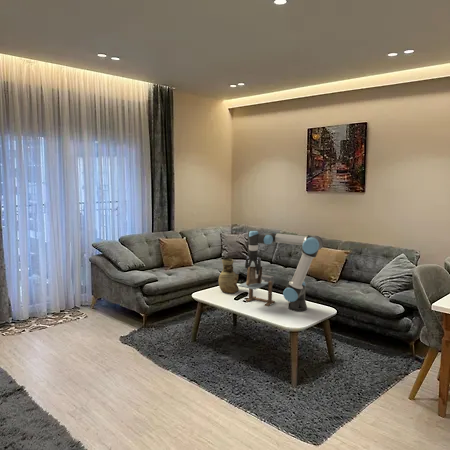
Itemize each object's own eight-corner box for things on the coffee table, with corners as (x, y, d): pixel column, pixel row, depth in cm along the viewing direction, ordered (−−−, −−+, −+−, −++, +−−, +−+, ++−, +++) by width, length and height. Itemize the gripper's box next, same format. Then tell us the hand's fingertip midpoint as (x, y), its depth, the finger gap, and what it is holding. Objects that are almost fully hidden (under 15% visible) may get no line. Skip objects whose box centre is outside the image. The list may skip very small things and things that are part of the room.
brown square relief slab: (248, 286, 324) (248, 267, 323) (244, 285, 327) (245, 266, 326) (262, 283, 335) (263, 265, 334) (259, 282, 338) (259, 264, 337)
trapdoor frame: (274, 302, 344) (275, 280, 341) (267, 306, 334) (268, 283, 331) (252, 297, 356) (253, 276, 354) (245, 301, 346) (246, 279, 344)
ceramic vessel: (244, 292, 374) (245, 260, 370) (225, 295, 363) (225, 262, 359) (233, 287, 390) (233, 256, 386) (214, 290, 379) (214, 259, 375)
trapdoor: (274, 284, 347) (274, 276, 346) (255, 293, 320) (255, 284, 319) (258, 281, 356) (258, 273, 355) (238, 289, 329) (238, 281, 329)
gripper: (266, 250, 326) (265, 278, 329) (245, 247, 337) (245, 274, 340) (261, 252, 320) (260, 280, 323) (240, 249, 331) (240, 276, 334)
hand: (252, 277), depth 331 cm, fingers open, 7 cm apart
